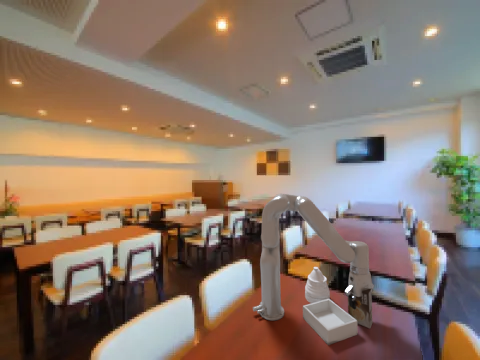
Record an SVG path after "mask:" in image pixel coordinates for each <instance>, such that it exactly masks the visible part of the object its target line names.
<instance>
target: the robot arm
mask: <svg viewBox="0 0 480 360" xmlns="http://www.w3.org/2000/svg"><path fill="white" fill-rule="evenodd" d="M287 211H289V212H290V211H292V212H297V213H298V214H299V216H301V217H302V219H303V220H304V221H305V222H306V223H307V225H308V226H309V227H310V228H311V229H312V231H313V232H314V233H315V234H316V236H317V237H318V238H320V240H322V242H323V243H324V245H326V246H327V247H328V248H329V250H330V251H331V252H332V254H334V256H336V258H337V259H338V260H339V261H340V262H341V263H344V264H350V265H349V266H350V267H349V274H348V284H349V287H348V288H347V287H346V289H345V290H344V293H345V296H346V297H347V299H348V298H349V306H350V307H352V308H353V309H354V310H355V309H356V301H355V298H356V296H357V297H361V296H362V291H363V290H367V289H371V293H372V294H373V291H374V288H375V284H373V280H372V275H371V272H370V259H369V258H370V253H369V251H370V248H369V245H368V244H367V243H366V242H364V241H360V240H353V241H351V240H346V239H344V237H343V236H342V235H341V234H340V233H339V232H338V230H337V229H336V228H335V226H334V225H333V223H331V221H330V220H329V219H328V218H327V217H326V216H325V215H324V214H323V212H322V211H321V210H320V209H319V208H318V207H317V205H316V204H315V203H314V201H312V200H311V199H310V198H308V197H306V196H302V195H294V194H288V193H278V194H276V195H275V196H274V197H273V198H272V199H271V200H269V201H268V202H267V203H266V204H265V205H264V207H263V209H262V213H261V235H260V240H261V254H260V255H261V256H260V260H259V261H260V263H259V266H260V267H259V268H260V282H261V284H260V286H261V301H260V302H259V304H258V305H256V306H252V311H253V312H257V314H259V315H260V316H261V318H263V319H265V320H268V321H279V320H281V319H282V318H283V317H284V316H285V309H284V307H283V306H282V299H281V297H282V296H281V255H280V239H281V237H280V230H279V229H280V217H281V215H282V214H284V213H286V212H287ZM352 290H353V292H354V293H353V292H351V291H352ZM352 294H354V295H353V297H352Z"/></svg>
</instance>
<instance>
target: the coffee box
mask: <svg viewBox="0 0 480 360" xmlns="http://www.w3.org/2000/svg"><path fill="white" fill-rule="evenodd" d="M348 287H349V283H348V285H347V287H346V289H347V288H348ZM351 292H353V290H352V291H351ZM353 293H354V292H353ZM353 295H354V294H352V297H353ZM372 298H373V292H372V293H371V289H367V290H363V291H362V296H361V297H357V296H356V298H355V301H356V309H355V310H354V309H353V308H352V307H350V306H349V298H348V297H347V313H348V314H349V315H351V316H352V317H353V318H354V319H356V320H357V325H360V326H363V327H365V328H367V329H371V327H372V324H373V323H374V321H373V299H372Z"/></svg>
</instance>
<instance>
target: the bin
mask: <svg viewBox="0 0 480 360" xmlns="http://www.w3.org/2000/svg"><path fill="white" fill-rule="evenodd" d="M302 318H303V320H305V322H306V323H307V324H308V325H309V326H310V327H311V328H312V330H313V331H314V332H315V333H316V334H317V335H318V336H319V337H320V338H321V339H322V340H323V342H325V344H326V345H327V346H331V345H334V344H335V343H338V342H341V341H344V340H347V339H349V338H352V337H354V336H357V335H358V333H359V332H358V331H359V330H358V329H359V327H358V323H357V320H356V319H354V318H353V317H352V316H351V315H349V314H348V311H345V310H344V309H343V308H341V307H340V306H339V305H338V304H336V302H334V301H333V300H332V299H326V300H322V301H318V302H315V303H309V304H305V305H302Z"/></svg>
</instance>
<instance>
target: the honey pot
mask: <svg viewBox="0 0 480 360" xmlns="http://www.w3.org/2000/svg"><path fill="white" fill-rule="evenodd" d="M312 268H313V270H311V272H310V273H309V274H308V276H307V280H306V284H305V287H304V290H305V291H304V297H305V300H306V301H307V302H309V304H311V303H315V302H318V301H322V300H326V299H330V298H331V297H330V296H331V295H330V293H331V291H330V288H329V286H328V283H327V281H328V278H327V277H326V276H325V275H323V272H322V271H321V270H320V269H319V267H318V266H314V267H312ZM330 300H331V299H330Z"/></svg>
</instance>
